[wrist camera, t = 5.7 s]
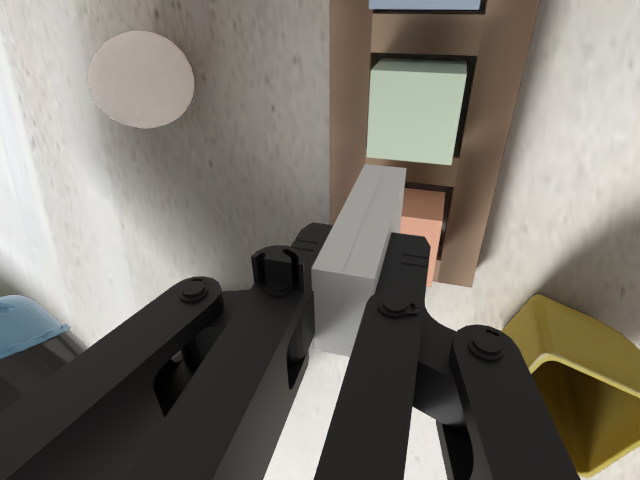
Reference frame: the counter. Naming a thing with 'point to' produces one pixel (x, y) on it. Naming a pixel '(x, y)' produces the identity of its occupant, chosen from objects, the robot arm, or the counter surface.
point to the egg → (141, 79)
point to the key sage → (415, 109)
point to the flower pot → (582, 380)
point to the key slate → (425, 4)
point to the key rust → (424, 220)
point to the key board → (480, 120)
